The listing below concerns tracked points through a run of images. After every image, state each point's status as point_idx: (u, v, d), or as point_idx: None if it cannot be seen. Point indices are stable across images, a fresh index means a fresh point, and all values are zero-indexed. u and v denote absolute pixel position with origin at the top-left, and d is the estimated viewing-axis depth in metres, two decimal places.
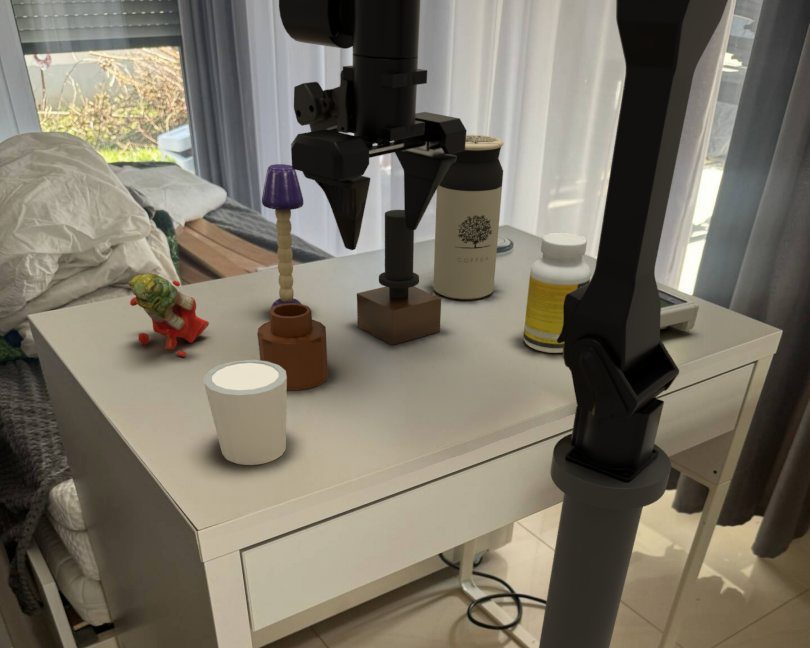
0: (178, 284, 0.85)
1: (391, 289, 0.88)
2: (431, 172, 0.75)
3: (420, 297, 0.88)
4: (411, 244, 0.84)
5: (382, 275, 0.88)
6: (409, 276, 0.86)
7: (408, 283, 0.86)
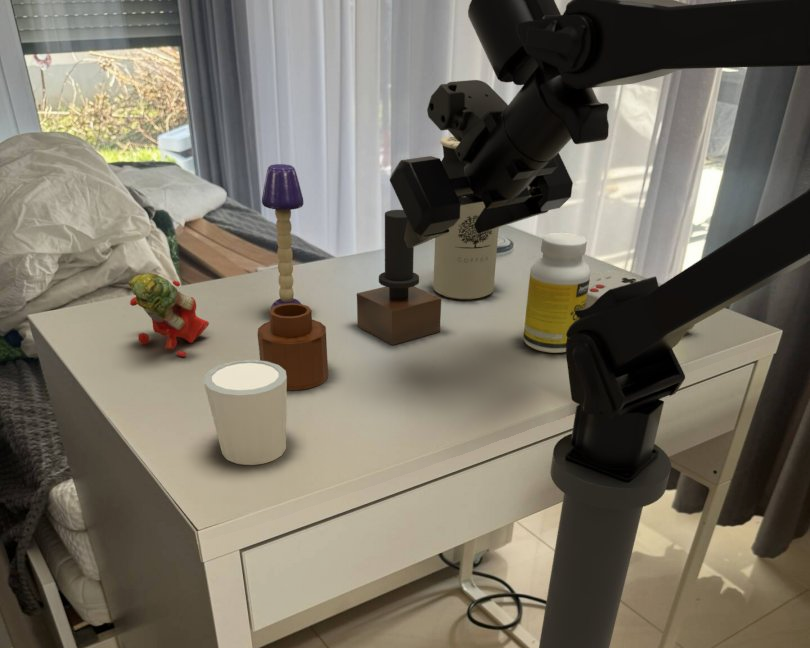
0: (178, 284, 0.85)
1: (391, 289, 0.88)
2: (518, 213, 0.76)
3: (420, 297, 0.88)
4: None
5: (382, 275, 0.88)
6: (409, 276, 0.86)
7: (408, 283, 0.86)
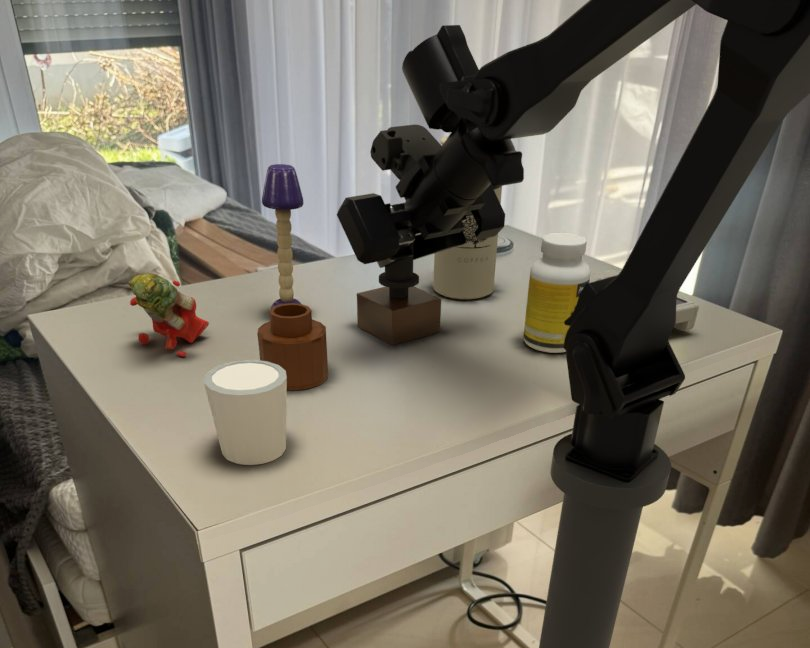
0: (178, 284, 0.85)
1: (391, 289, 0.88)
2: (437, 245, 0.83)
3: (420, 297, 0.88)
4: (411, 244, 0.84)
5: (382, 275, 0.88)
6: (409, 276, 0.86)
7: (408, 283, 0.86)
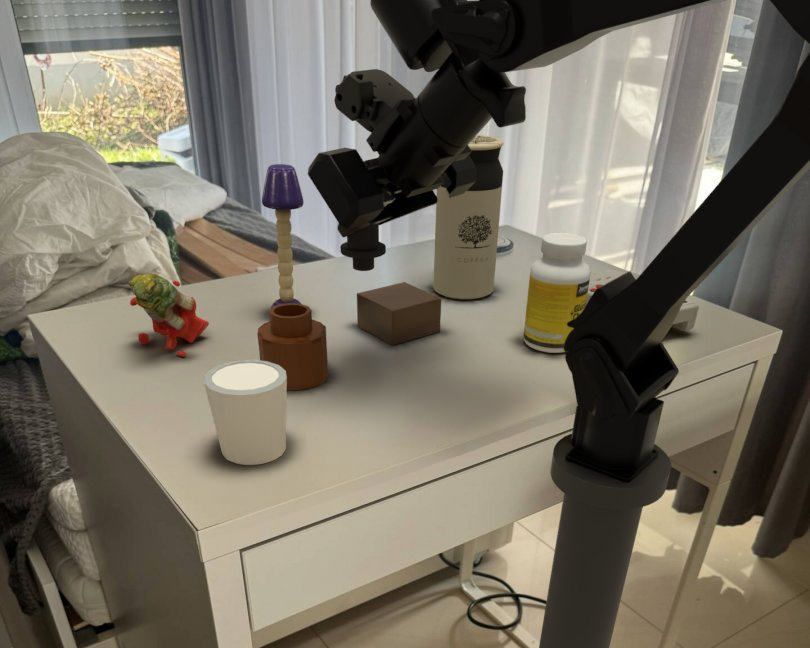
0: (178, 284, 0.85)
1: (356, 261, 0.78)
2: (408, 206, 0.75)
3: (420, 297, 0.88)
4: None
5: (344, 246, 0.78)
6: (376, 244, 0.77)
7: (377, 252, 0.77)
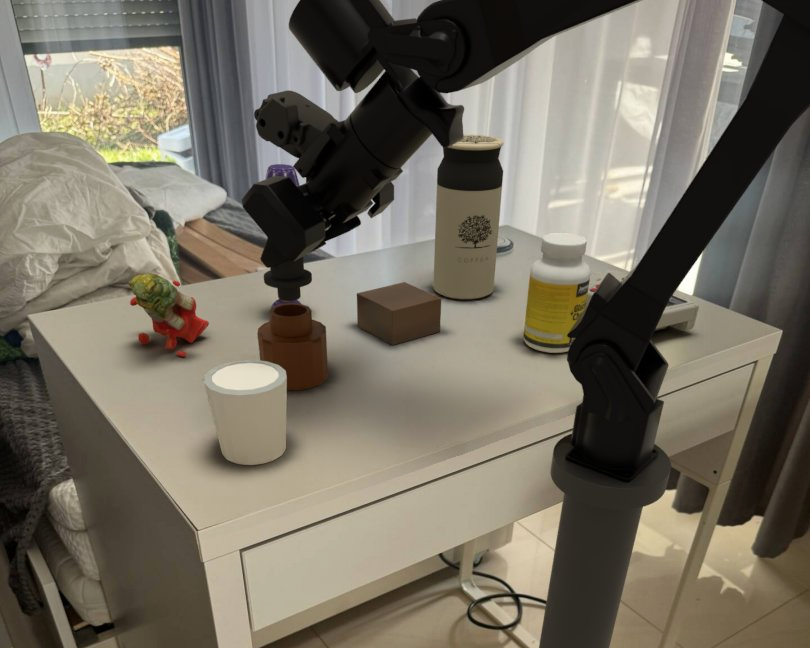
0: (178, 284, 0.85)
1: (283, 291, 0.74)
2: (333, 230, 0.72)
3: (420, 297, 0.88)
4: None
5: (268, 276, 0.74)
6: (303, 272, 0.74)
7: (306, 280, 0.73)
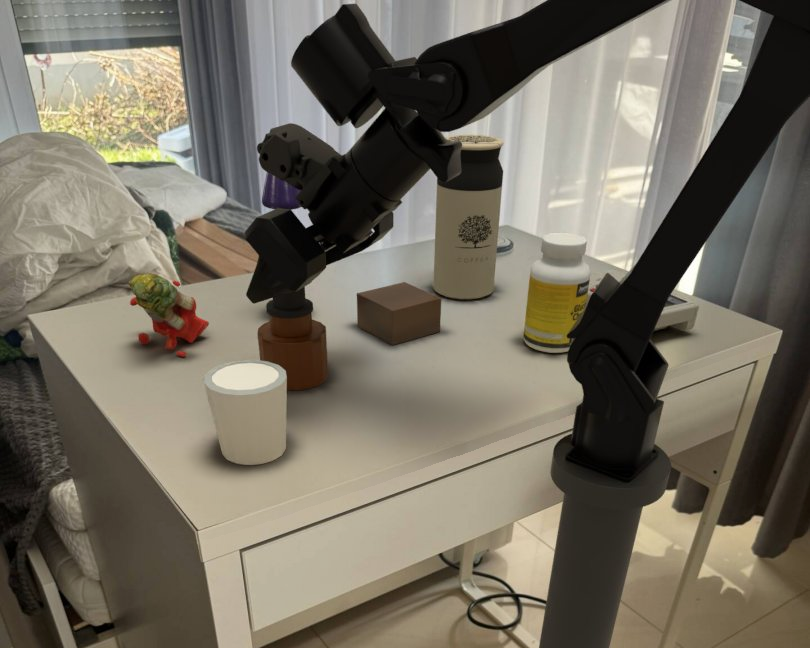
0: (178, 284, 0.85)
1: None
2: (347, 249, 0.76)
3: (420, 297, 0.88)
4: None
5: (270, 306, 0.75)
6: (304, 302, 0.75)
7: (307, 310, 0.75)
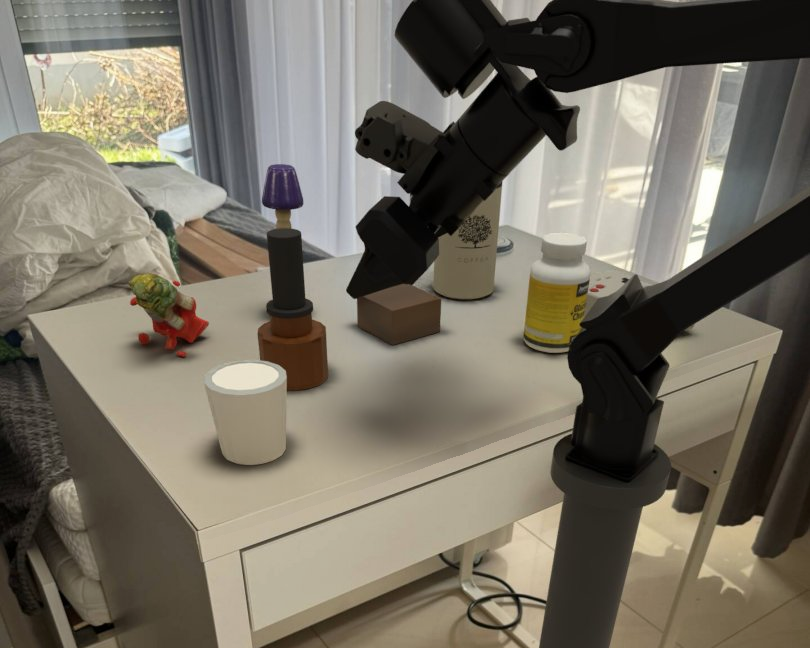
0: (178, 284, 0.85)
1: None
2: (439, 229, 0.72)
3: (420, 297, 0.88)
4: None
5: (270, 306, 0.75)
6: (304, 302, 0.75)
7: (307, 310, 0.75)
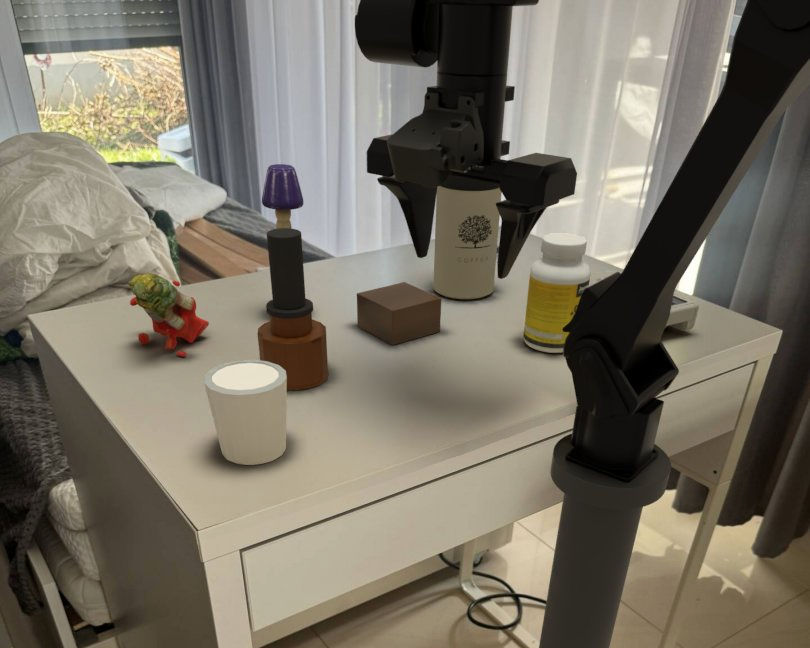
0: (178, 284, 0.85)
1: None
2: (433, 189, 0.72)
3: (420, 297, 0.88)
4: None
5: (270, 306, 0.75)
6: (304, 302, 0.75)
7: (307, 310, 0.75)
